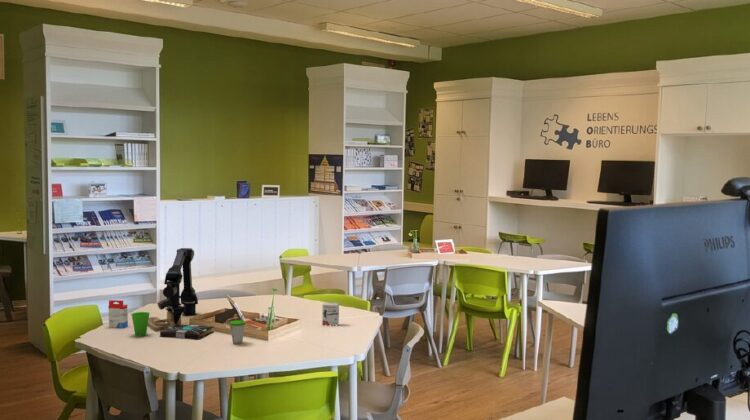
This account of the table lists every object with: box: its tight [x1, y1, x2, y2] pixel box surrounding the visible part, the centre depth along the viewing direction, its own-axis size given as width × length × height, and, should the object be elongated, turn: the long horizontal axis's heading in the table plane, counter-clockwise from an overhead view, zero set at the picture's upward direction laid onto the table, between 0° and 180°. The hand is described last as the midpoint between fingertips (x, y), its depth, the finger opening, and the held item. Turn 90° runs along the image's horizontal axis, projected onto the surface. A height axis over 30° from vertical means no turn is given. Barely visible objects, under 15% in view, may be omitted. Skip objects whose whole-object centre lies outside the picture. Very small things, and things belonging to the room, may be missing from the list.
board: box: [147, 316, 171, 332], centre depth 355 cm, size 8×25×2 cm, turn 35°
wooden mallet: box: [154, 311, 182, 327], centre depth 351 cm, size 14×5×8 cm, turn 125°
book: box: [159, 324, 215, 341], centre depth 337 cm, size 22×17×5 cm
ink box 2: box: [321, 302, 340, 326], centre depth 361 cm, size 8×5×12 cm, turn 86°
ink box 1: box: [108, 299, 129, 329], centre depth 350 cm, size 8×5×15 cm, turn 84°
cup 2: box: [229, 313, 246, 345], centre depth 321 cm, size 8×8×15 cm
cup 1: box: [130, 311, 151, 337], centre depth 334 cm, size 9×9×11 cm
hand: (174, 322), depth 353 cm, fingers closed on wooden mallet, 5 cm apart
